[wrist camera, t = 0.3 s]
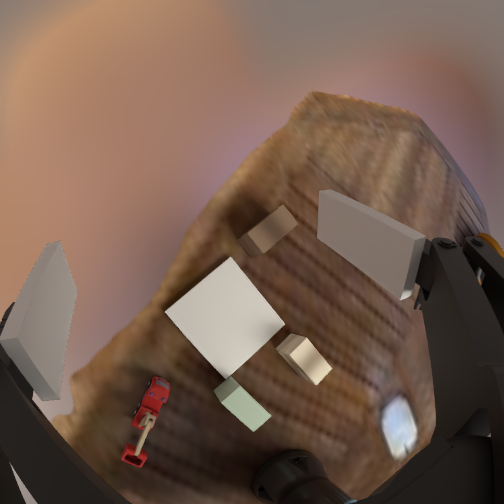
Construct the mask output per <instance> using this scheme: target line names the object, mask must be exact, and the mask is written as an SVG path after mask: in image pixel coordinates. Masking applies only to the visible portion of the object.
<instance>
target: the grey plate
mask: <svg viewBox="0 0 504 504" xmlns="http://www.w3.org/2000/svg"><path fill="white" fill-rule="evenodd" d="M165 313H166V314H167V315H168V316H169V317H170V319H171V320H172V321H173V322H174V323H175V325H176V326H177V327H178V328H179V329H180V330H181V331H182V333H183V334H184V335H185V336H186V337H187V338H188V339H189V340H190V342H191V343H192V344H193V345H194V346H195V347H196V348H197V349H198V350H199V352H200V353H201V354H202V355H203V356H204V357H205V358H206V359H207V360H208V361H209V362H210V363H211V364H212V365H213V366H214V368H215V369H216V370H217V371H218V372H219V373H220V374H221V375H222V376H223V377H224V378H225V379H227V378H228V377H229V376H230V375H231V374H232V373H233V372H234V371H236V370H237V369H238V368H239V367H240V366H241V365H242V364H243V363H244V362H246V361H247V360H248V359H249V358H250V357H251V356H252V355H253V354H254V353H255V352H256V351H258V350H259V349H260V348H261V347H262V346H263V345H264V344H265V343H266V342H267V341H268V340H269V339H270V338H271V337H272V336H273V335H274V334H275V333H277V332H278V331H279V330H280V329H281V328H282V327H283V326H284V325H285V323H284V322H283V321H282V320H281V318H280V317H279V316H278V315H277V313H276V312H275V311H274V310H273V309H272V307H271V306H270V305H269V304H268V302H267V301H266V300H265V299H264V298H263V296H262V295H261V294H260V293H259V291H258V290H257V289H256V288H255V286H254V285H253V284H252V283H251V281H250V280H249V279H248V278H247V276H246V275H245V274H244V273H243V271H242V270H241V269H240V268H239V266H238V265H237V264H236V263H235V261H234V260H233V259H232V258H231V257H229V258H228V259H227V260H226V261H224V262H223V263H222V264H221V265H220V266H218V267H217V268H216V269H215V270H214V271H212V272H211V273H210V274H209V275H208V276H206V277H205V278H204V279H203V280H202V281H200V282H199V283H198V284H197V285H196V286H194V287H193V288H192V289H191V290H190V291H188V292H187V293H186V294H185V295H184V296H182V297H181V298H180V299H179V300H178V301H177V302H175V303H174V304H173V305H172V306H171V307H169V308H168V309H167V310H166V311H165Z"/></svg>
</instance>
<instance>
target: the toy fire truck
mask: <svg viewBox="0 0 504 504" xmlns="http://www.w3.org/2000/svg"><path fill="white" fill-rule="evenodd" d="M147 387H148V389H147V391H146V393H145V395H144V397H143V399H142V402H140V403H139V405H138V409H139V410H138V409H136V411H135V413H134V416H135V417H134V418H133V420H132V426H134V427H136V428H138V429H141V430H143V432H142V434H141V437H140V439H139V441H138V444H137V446H136V447H135V446H133V445H131V444H128V443H126V445H125V447H124V450H123V452H122V454H121V460H122V461H124V462H127V463H129V464H132V465H134V466H137V467H139V468H141V467H142V466H143V464H144V462H145V461H146V459H147V452H146V451H145V450H143V449H141V448H142V445H143V443H144V441H145V438H146V436H147V434H148V432H149V430H152V428H153V426H154V424H155V422H156V419H157V417H158V412H159V410H160V408H161V406H162V403H166V401H167V399H168V397H169V393H170V384H169V383H168V382H167V381H166V380H165V379H163V378H161V377H157V376H154V377H153V378H152V380H150V381H149V383H148V386H147Z"/></svg>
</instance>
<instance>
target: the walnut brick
mask: <svg viewBox="0 0 504 504" xmlns="http://www.w3.org/2000/svg"><path fill="white" fill-rule="evenodd" d="M297 224H298V223H297V222H296V220H295V219H294V218H293V216H292V215H291V214H290V212H289V211H288V210H287V209H286V207H285V206H284V205H281V206H280V207H278V208H277V209H276V210H274V211H273V212H271V213H270V214H268V215H267V216H266V217H265V218H263V219H262V220H261V221H260V222H258V223H257V224H256V225H255V226H253V227H252V228H251V229H250V230H248V231H247V232H246V233H245V234H243V235H242V236H241V237H240V238H238V239H237V241H238V242H239V243H240V244H241V246H242V247H243V248H244V249H245V251H246V252H247V253H248V255H249V256H250V257H251V258H253V257H256V256H259V255H262V254H264V253H265V252H266V251H267V250H268V249H270V248H271V247H272V246H273V245H274V244H275V243H277V242H278V241H279V240H280V239H281V238H282V237H283V236H285V235H286V234H287V233H288V232H289V231H290V230H292V229H293V228H294V227H295V226H296V225H297Z"/></svg>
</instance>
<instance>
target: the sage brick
mask: <svg viewBox="0 0 504 504" xmlns="http://www.w3.org/2000/svg"><path fill="white" fill-rule="evenodd" d="M213 391H214V392H215V394H216V396H217V397H218V399H219V400H220V402H221V403H222V404H223V405H224V406H225V407H226V408H227V409H228V410H229V411H230V412H232V413H233V414H234V415H235V416H236V417H237V418H238V419H239V420H240V421H242V422H243V423H244V424H245V425H246V426H247V427H248V428H250V429H251V430H252V431H253V432H254V431H255V430H256V429H258V428H259V427H260V426H261V425H262V424H263V423H264V422H265V421H267V420H268V419H269V418H270V417H271V415H270V414H269V413H268V412H267V411H266V410H265V409H264V408H263V407H262V406H261V405H260V404H259V403H258V402H257V401H256V400H254V399H253V398H252V397H251V396H250V395H249V394H248V393H247V392H246V391H245V390H244V389H243V388H242V387H241V386H240V385H239V384H238V383H237V382H236V381H235V380H234V379H233V378H232V377H231V376H230V377H228V378H227V379H226V380H225V381H224V382H223V383H222V384H220V385H219V386H218V387H217V388H216V389H215V390H213Z"/></svg>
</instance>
